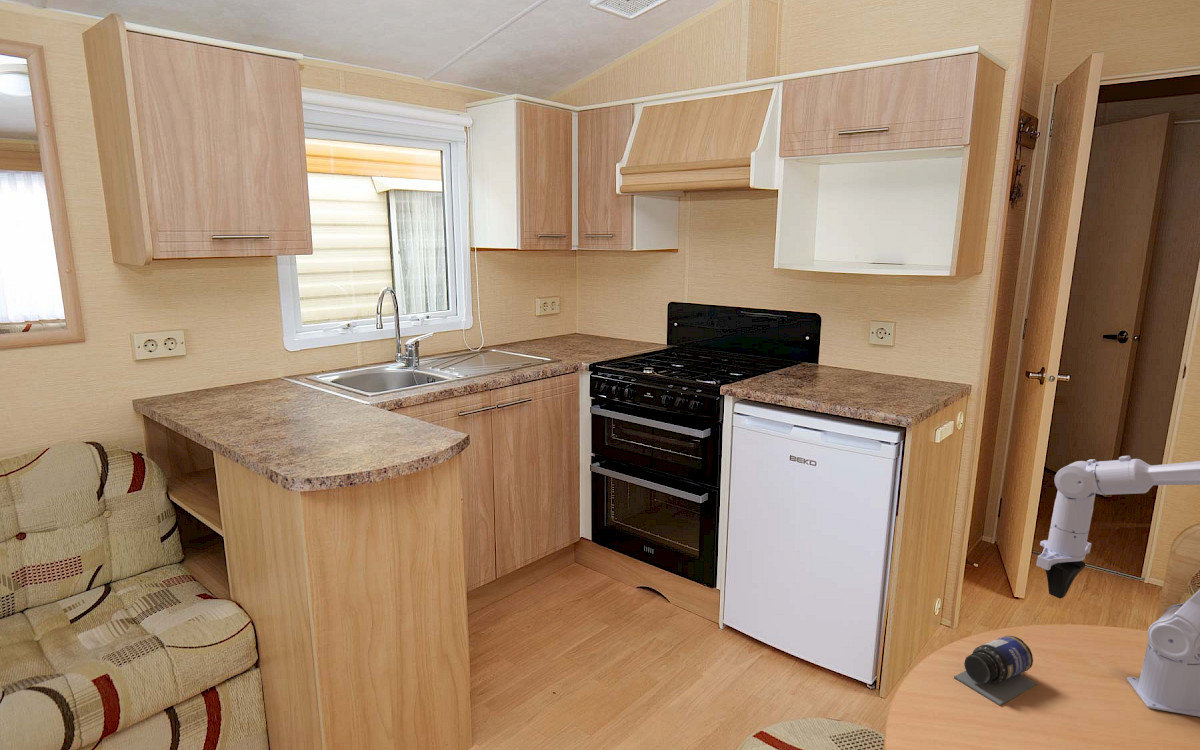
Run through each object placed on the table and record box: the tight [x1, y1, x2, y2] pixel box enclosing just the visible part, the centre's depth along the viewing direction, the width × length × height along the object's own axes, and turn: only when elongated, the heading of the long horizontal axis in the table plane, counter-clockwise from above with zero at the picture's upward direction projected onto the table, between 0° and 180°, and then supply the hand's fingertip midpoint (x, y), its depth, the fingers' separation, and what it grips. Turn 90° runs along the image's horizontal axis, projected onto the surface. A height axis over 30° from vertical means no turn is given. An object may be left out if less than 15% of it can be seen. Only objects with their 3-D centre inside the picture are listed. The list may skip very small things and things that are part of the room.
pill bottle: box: [963, 635, 1034, 684], centre depth 120 cm, size 6×6×11 cm
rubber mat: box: [953, 670, 1038, 707], centre depth 120 cm, size 11×8×1 cm
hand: (1056, 595), depth 128 cm, fingers closed
